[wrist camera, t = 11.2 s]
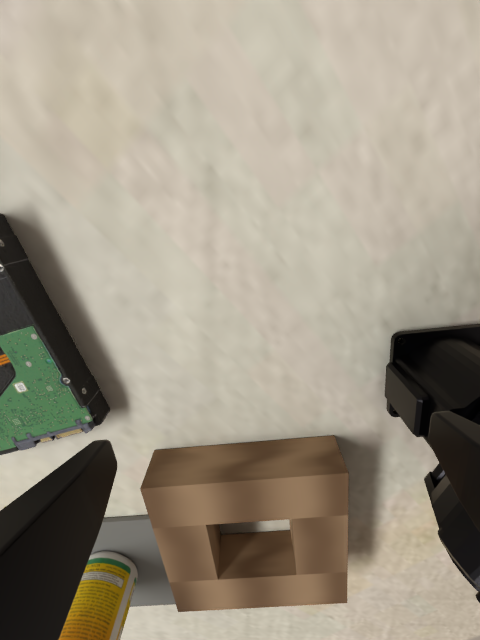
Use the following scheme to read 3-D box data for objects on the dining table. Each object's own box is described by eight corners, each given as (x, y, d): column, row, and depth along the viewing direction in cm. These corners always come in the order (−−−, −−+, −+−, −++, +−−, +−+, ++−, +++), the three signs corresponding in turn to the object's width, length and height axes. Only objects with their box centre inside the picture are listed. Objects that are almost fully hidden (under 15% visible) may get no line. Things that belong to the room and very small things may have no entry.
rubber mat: (160, 514, 27) (159, 518, 26) (184, 598, 31) (184, 603, 30) (28, 523, 27) (25, 527, 27) (69, 605, 31) (67, 610, 31)
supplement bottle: (148, 580, 29) (105, 747, 20) (97, 590, 30) (33, 756, 21) (124, 543, 27) (66, 709, 18) (71, 554, 28) (-11, 719, 19)
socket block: (334, 435, 23) (348, 473, 20) (335, 556, 28) (347, 602, 25) (154, 450, 24) (140, 488, 21) (185, 565, 29) (178, 611, 26)
